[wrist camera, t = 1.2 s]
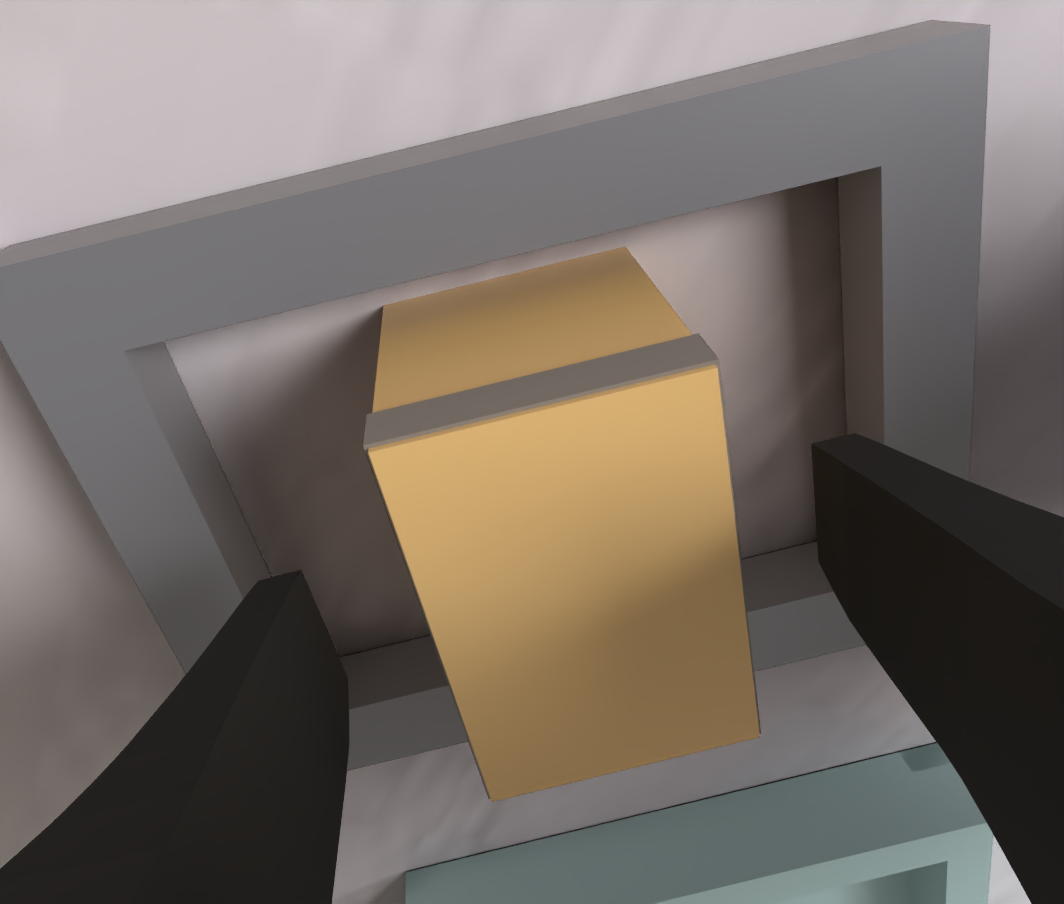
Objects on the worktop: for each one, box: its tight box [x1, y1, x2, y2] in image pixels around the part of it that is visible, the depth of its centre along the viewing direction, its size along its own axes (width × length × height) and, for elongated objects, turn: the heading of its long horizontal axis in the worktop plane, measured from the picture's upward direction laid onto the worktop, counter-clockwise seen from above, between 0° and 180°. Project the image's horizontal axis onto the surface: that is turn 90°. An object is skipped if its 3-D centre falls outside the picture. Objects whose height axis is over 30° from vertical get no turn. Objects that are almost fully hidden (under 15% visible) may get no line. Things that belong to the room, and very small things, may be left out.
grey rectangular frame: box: [0, 20, 990, 771], centre depth 15 cm, size 14×10×2 cm
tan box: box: [363, 247, 761, 802], centre depth 13 cm, size 4×6×5 cm
